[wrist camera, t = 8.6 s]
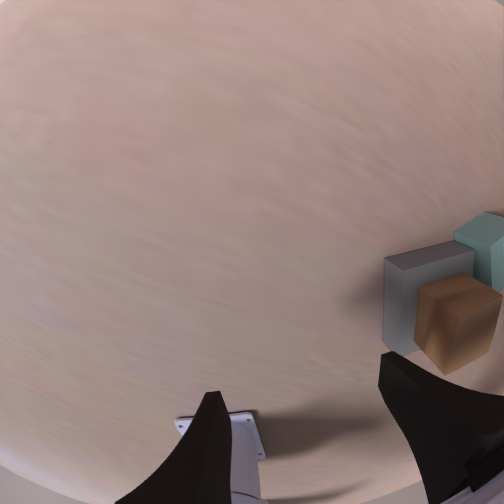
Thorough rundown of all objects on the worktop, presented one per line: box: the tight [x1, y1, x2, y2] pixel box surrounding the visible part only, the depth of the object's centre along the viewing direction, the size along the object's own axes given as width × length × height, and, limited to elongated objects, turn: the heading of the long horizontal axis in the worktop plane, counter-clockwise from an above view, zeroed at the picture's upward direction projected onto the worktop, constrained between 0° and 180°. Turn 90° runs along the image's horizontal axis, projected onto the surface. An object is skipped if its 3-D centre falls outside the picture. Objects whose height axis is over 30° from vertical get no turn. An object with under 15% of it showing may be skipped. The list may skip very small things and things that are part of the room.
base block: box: [382, 241, 475, 356], centre depth 20 cm, size 8×8×3 cm
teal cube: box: [454, 212, 504, 292], centre depth 19 cm, size 5×5×5 cm
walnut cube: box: [413, 272, 503, 375], centre depth 17 cm, size 5×5×5 cm
